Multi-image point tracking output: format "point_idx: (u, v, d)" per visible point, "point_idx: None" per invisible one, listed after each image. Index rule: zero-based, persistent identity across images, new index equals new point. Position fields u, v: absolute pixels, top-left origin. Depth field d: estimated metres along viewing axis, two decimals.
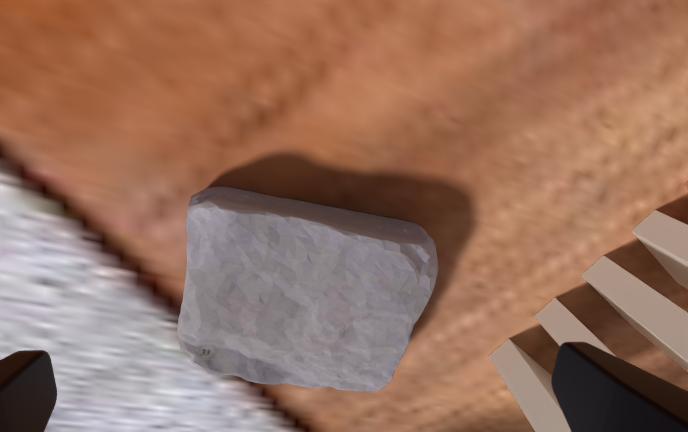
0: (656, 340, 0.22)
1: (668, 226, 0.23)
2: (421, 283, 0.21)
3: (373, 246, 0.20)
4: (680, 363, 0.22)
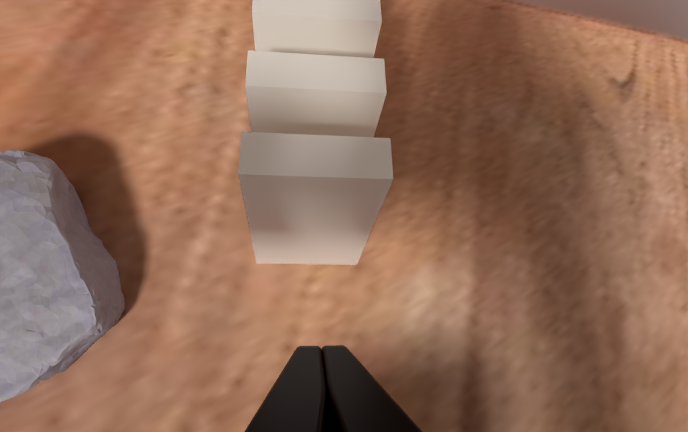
0: None
1: None
2: (23, 169, 0.19)
3: None
4: None
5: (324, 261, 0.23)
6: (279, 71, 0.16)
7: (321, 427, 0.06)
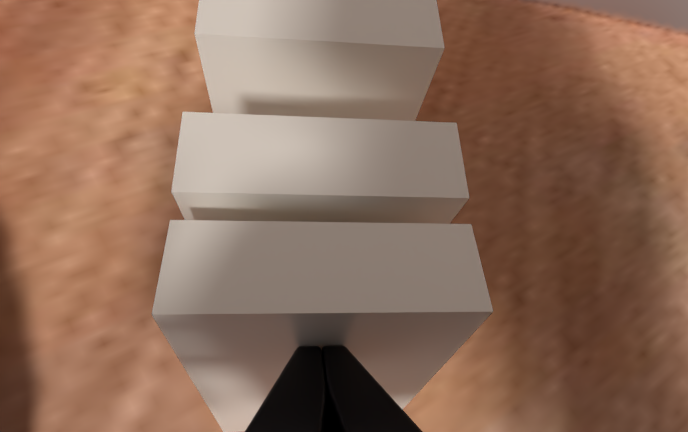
0: None
1: None
2: None
3: None
4: None
5: None
6: (246, 156, 0.08)
7: (321, 427, 0.06)
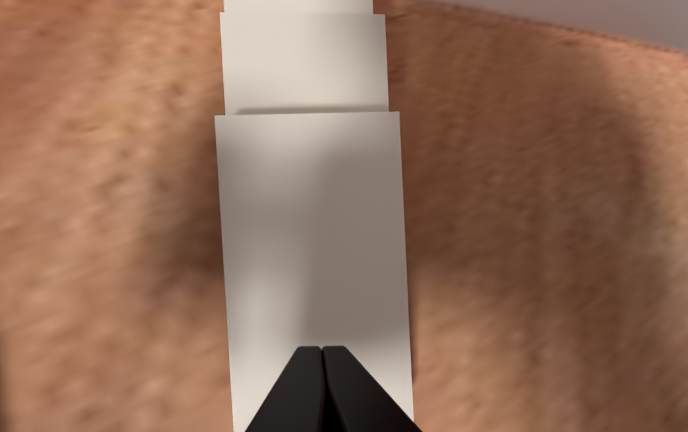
0: None
1: None
2: None
3: None
4: None
5: None
6: None
7: (321, 427, 0.06)
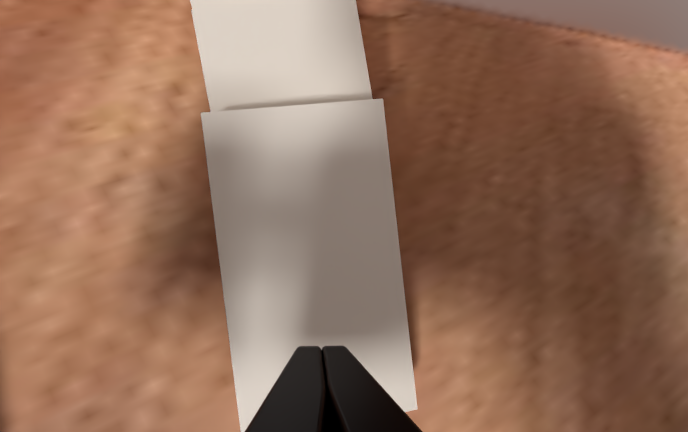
0: None
1: None
2: None
3: None
4: None
5: None
6: None
7: (321, 427, 0.06)
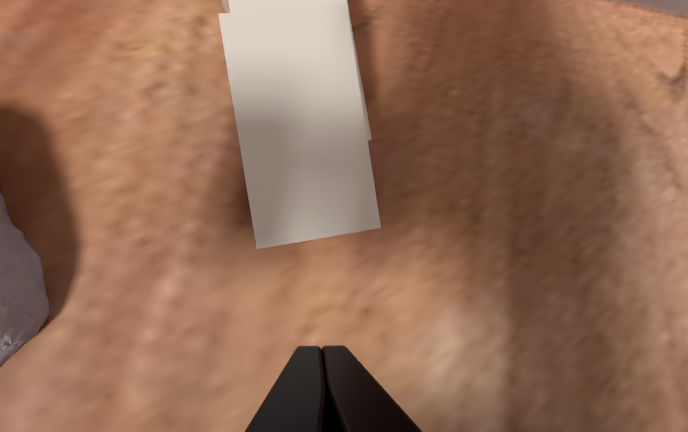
0: None
1: (223, 4, 0.23)
2: None
3: None
4: None
5: (339, 223, 0.18)
6: None
7: (321, 427, 0.06)
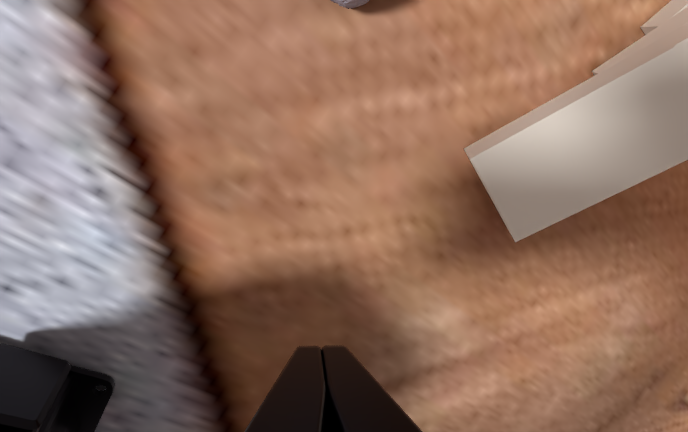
0: None
1: (672, 4, 0.23)
2: None
3: None
4: None
5: (509, 211, 0.22)
6: None
7: (321, 427, 0.06)
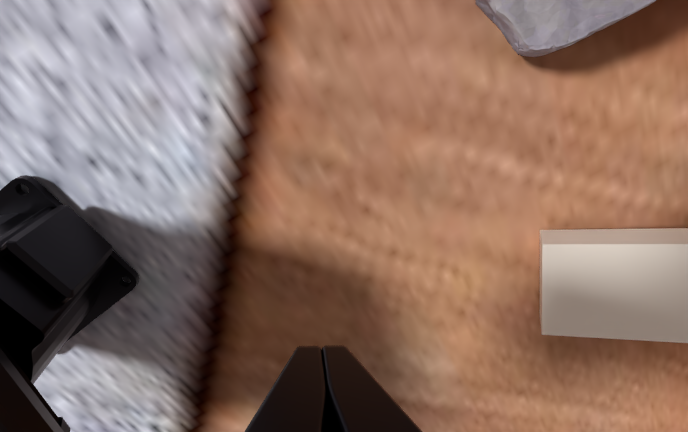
0: None
1: None
2: None
3: None
4: None
5: (551, 306, 0.22)
6: None
7: (321, 427, 0.06)
